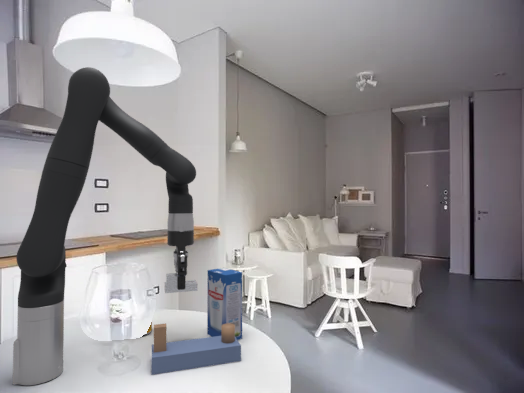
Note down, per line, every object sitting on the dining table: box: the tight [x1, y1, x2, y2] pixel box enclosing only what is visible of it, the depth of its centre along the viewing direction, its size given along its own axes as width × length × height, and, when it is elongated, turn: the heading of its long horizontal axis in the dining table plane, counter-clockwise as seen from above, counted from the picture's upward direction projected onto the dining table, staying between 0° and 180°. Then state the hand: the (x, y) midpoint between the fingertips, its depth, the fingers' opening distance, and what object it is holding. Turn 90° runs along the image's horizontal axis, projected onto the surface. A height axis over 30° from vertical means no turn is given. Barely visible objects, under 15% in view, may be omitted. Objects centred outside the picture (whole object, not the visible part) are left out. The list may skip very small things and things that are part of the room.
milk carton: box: [206, 267, 243, 341], centre depth 102 cm, size 10×6×20 cm, turn 41°
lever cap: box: [164, 272, 198, 294], centre depth 97 cm, size 9×5×4 cm, turn 108°
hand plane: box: [150, 322, 242, 376], centre depth 86 cm, size 22×8×10 cm, turn 108°
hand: (180, 286), depth 97 cm, fingers closed on lever cap, 5 cm apart
